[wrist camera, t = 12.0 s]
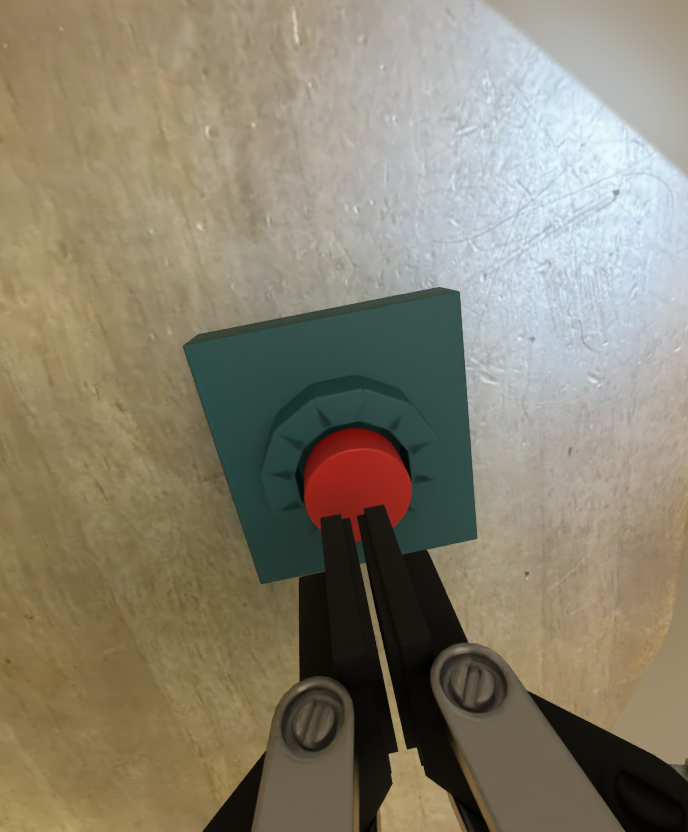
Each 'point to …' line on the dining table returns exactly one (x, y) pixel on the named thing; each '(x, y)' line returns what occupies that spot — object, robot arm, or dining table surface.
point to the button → (355, 477)
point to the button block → (340, 417)
